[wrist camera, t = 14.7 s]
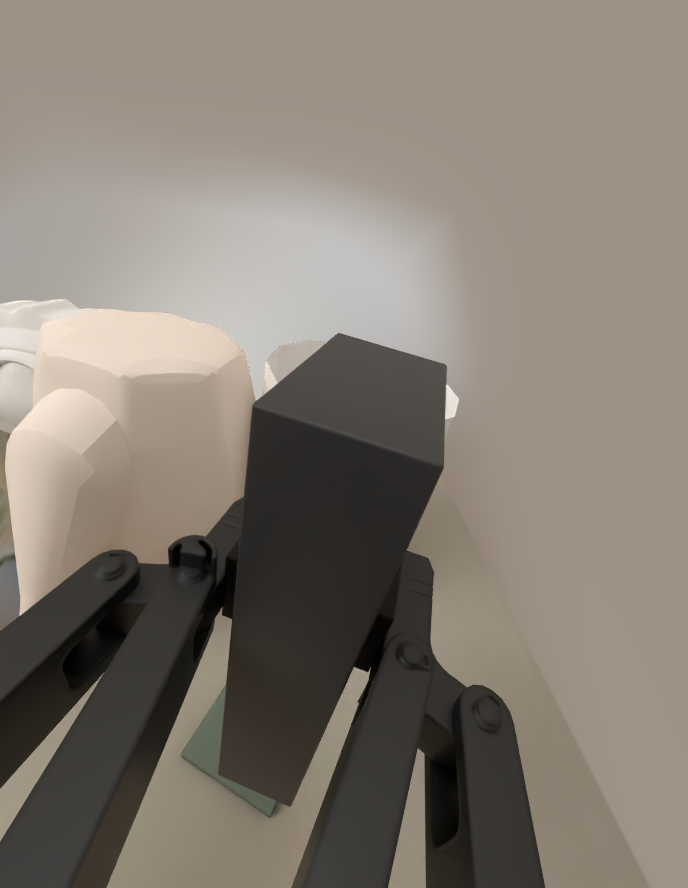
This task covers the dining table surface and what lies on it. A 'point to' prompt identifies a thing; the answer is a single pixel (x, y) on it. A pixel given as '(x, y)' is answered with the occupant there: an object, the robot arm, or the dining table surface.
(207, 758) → the mat
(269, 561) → the block
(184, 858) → the dining table surface
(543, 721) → the dining table surface
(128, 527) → the watering can
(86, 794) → the robot arm
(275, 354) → the container
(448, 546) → the dining table surface
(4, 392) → the camera
